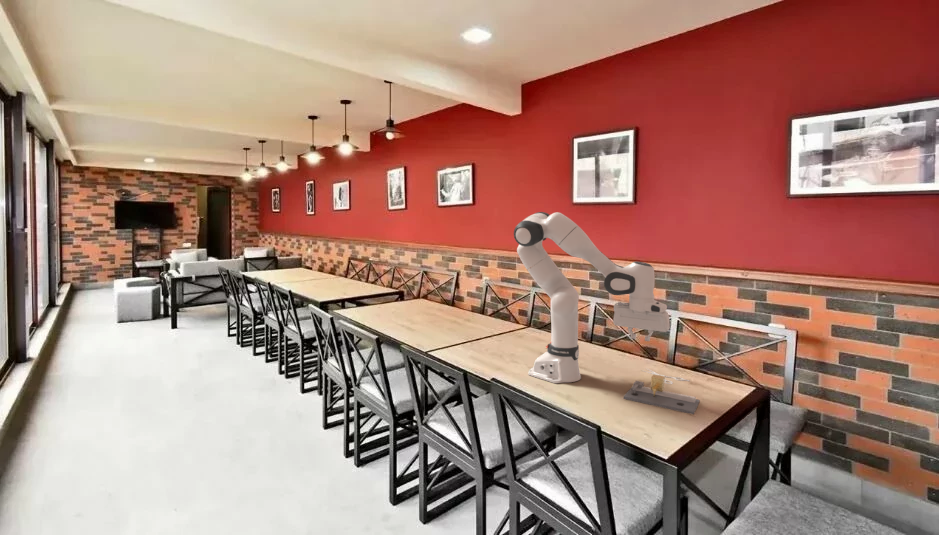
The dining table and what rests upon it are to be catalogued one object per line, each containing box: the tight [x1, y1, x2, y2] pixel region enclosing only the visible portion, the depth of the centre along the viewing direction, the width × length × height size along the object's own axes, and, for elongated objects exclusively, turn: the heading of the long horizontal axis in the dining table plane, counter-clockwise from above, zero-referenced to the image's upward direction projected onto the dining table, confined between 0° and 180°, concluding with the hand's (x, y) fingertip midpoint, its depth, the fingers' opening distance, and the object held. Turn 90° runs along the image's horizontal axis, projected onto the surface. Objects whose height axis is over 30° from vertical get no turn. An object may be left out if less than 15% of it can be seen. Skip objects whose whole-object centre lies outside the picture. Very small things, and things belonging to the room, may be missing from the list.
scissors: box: [641, 367, 691, 385], centre depth 193 cm, size 11×1×20 cm
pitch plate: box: [623, 380, 701, 415], centre depth 167 cm, size 24×12×4 cm, turn 55°
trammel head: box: [650, 374, 666, 397], centre depth 169 cm, size 4×7×6 cm, turn 144°
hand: (640, 339), depth 173 cm, fingers open, 4 cm apart
